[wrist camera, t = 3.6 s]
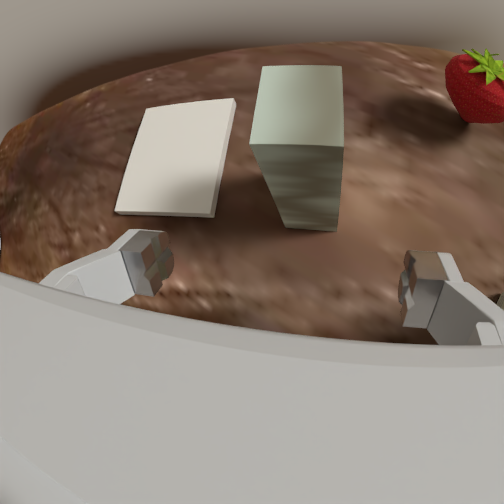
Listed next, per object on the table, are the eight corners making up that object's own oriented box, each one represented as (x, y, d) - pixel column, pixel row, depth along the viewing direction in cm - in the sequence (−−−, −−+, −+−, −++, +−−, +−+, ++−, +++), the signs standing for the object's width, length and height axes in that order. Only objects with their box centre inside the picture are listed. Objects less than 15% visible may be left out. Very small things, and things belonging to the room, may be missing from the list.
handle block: (285, 227, 24) (249, 144, 13) (291, 170, 25) (262, 66, 14) (336, 231, 23) (343, 146, 12) (339, 173, 24) (341, 66, 13)
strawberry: (497, 159, 21) (544, 96, 12) (429, 128, 23) (458, 50, 14) (496, 115, 22) (532, 52, 12) (434, 87, 24) (455, 14, 14)
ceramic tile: (120, 214, 28) (114, 211, 27) (150, 113, 31) (146, 108, 30) (214, 217, 26) (210, 213, 25) (236, 104, 28) (233, 98, 27)
